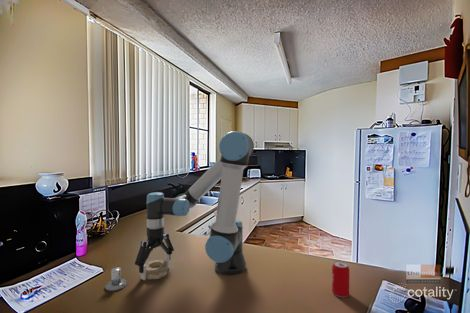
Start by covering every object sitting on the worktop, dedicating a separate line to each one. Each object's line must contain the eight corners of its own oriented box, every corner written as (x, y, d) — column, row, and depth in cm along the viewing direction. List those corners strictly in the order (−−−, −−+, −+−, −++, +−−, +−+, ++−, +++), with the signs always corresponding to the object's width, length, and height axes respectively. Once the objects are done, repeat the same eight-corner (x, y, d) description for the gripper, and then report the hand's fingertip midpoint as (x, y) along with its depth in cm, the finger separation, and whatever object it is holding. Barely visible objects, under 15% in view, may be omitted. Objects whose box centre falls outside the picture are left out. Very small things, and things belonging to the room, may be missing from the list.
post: (130, 284, 103) (130, 268, 103) (111, 293, 97) (111, 276, 97) (120, 278, 108) (119, 263, 108) (101, 287, 101) (101, 270, 101)
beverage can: (344, 289, 100) (344, 260, 99) (352, 298, 93) (352, 267, 93) (329, 289, 99) (329, 260, 99) (336, 299, 93) (336, 267, 93)
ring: (171, 272, 114) (171, 263, 114) (153, 281, 106) (153, 272, 106) (157, 266, 120) (157, 258, 120) (139, 274, 111) (139, 266, 111)
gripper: (170, 219, 124) (171, 261, 125) (125, 232, 104) (126, 282, 105) (181, 221, 120) (181, 265, 121) (136, 236, 100) (136, 287, 100)
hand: (155, 273), depth 113 cm, fingers open, 12 cm apart
